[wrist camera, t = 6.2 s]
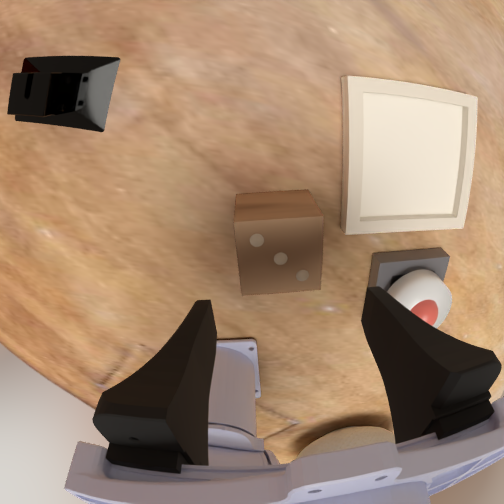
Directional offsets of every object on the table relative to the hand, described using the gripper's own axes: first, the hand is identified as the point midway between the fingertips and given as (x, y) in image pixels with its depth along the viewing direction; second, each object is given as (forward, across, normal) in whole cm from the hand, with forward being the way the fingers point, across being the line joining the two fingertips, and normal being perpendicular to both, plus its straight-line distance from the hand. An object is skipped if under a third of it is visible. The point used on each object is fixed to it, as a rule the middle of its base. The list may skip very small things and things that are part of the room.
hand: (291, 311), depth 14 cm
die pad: (+10, -10, -5) cm, 15 cm away
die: (+10, 0, 0) cm, 10 cm away
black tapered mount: (+10, +15, -12) cm, 22 cm away
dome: (+9, -12, +7) cm, 16 cm away
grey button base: (+10, -12, +6) cm, 16 cm away
